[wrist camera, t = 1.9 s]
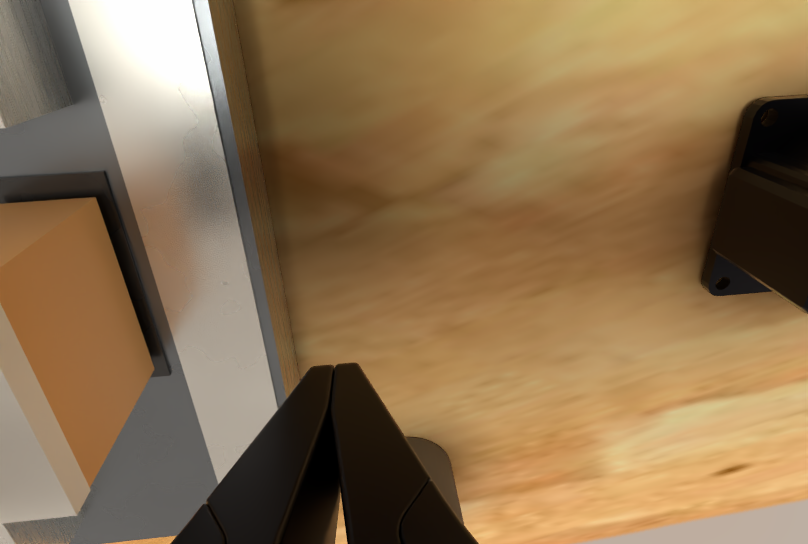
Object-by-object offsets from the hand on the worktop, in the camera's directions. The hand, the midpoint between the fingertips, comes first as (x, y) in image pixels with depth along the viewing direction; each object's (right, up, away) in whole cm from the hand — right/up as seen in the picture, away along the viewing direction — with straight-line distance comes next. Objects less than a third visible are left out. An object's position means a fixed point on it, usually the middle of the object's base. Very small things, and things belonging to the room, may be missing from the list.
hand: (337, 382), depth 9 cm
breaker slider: (-7, +2, +4) cm, 8 cm away
